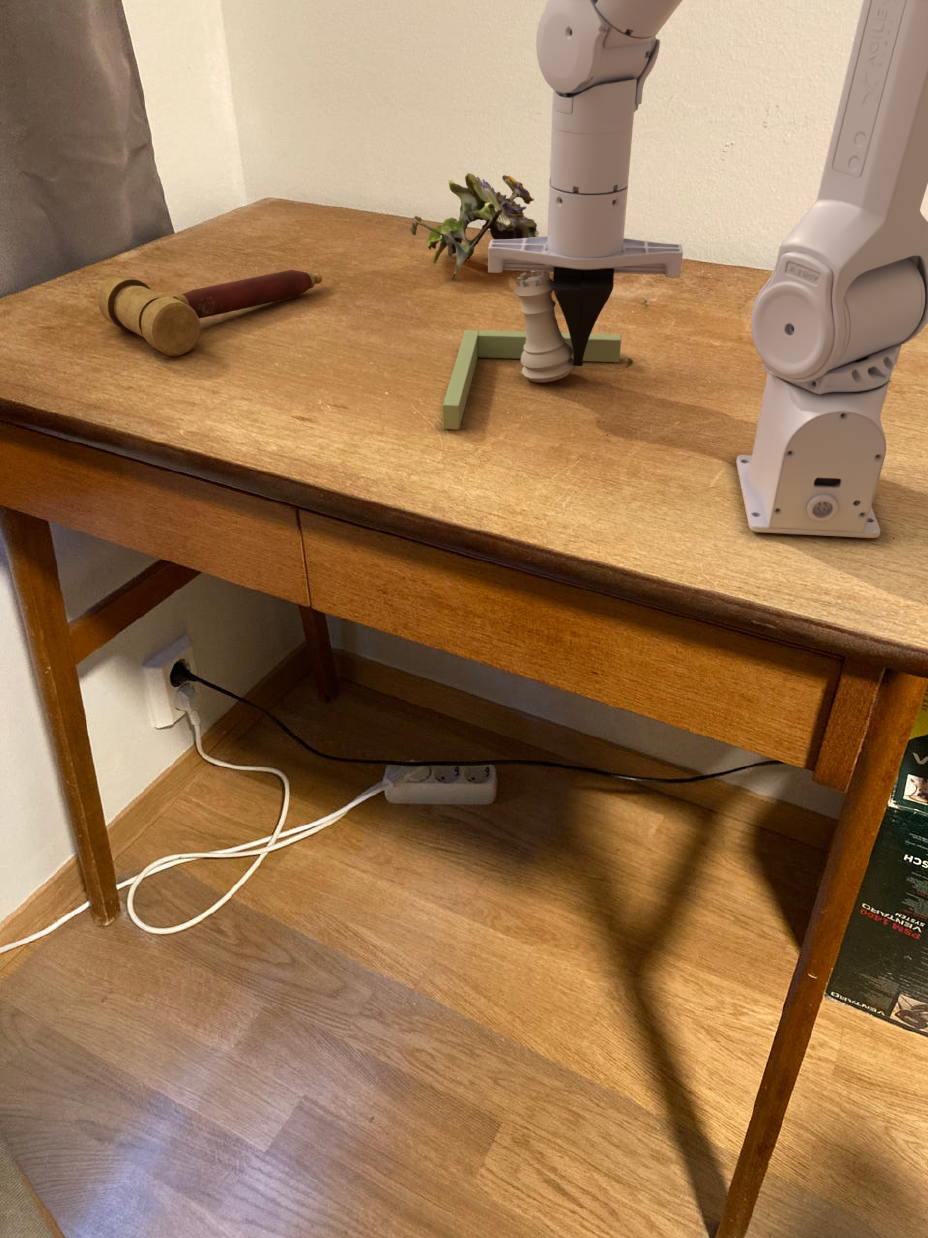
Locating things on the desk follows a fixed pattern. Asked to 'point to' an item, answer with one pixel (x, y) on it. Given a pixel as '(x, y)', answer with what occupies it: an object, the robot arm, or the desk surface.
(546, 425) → the desk surface
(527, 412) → the desk surface
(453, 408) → the corner guide
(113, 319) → the gavel
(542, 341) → the rook chess piece
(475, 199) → the passion flower
